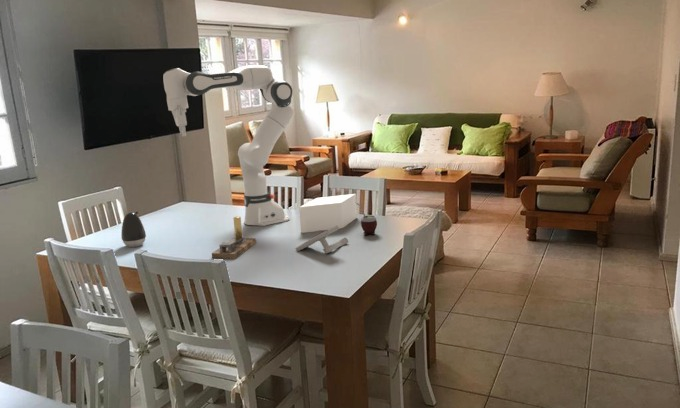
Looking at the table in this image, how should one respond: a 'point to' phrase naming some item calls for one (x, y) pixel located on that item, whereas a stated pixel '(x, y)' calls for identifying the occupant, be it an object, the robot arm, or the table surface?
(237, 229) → the bolt
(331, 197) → the block
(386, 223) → the table surface
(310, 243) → the door handle
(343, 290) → the table surface
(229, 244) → the door and jamb
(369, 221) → the mate gourd
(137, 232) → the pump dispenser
